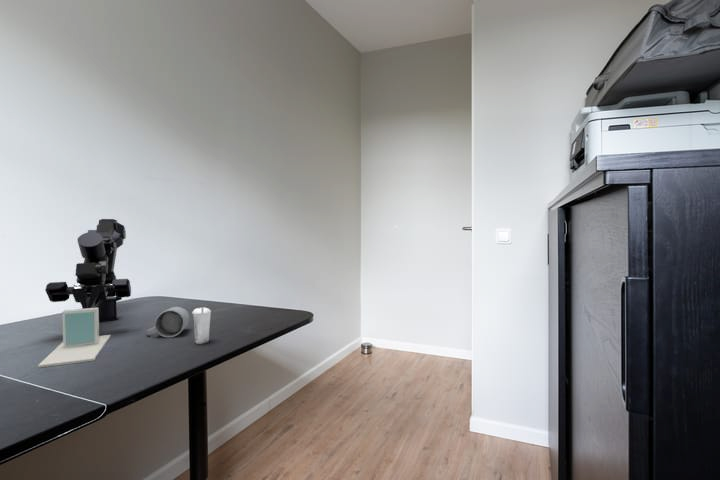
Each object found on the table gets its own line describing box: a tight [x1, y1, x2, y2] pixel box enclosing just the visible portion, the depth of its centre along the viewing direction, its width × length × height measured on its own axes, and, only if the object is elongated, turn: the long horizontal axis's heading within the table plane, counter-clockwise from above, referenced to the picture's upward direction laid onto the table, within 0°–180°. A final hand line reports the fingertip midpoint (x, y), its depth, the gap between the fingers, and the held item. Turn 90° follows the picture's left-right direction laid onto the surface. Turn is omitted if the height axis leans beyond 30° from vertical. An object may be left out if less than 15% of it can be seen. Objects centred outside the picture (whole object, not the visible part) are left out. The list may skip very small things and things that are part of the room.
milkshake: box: [191, 306, 212, 345], centre depth 96 cm, size 4×5×10 cm
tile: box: [61, 308, 100, 348], centre depth 92 cm, size 2×7×9 cm, turn 116°
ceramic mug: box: [146, 306, 190, 339], centre depth 104 cm, size 11×8×8 cm
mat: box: [37, 334, 112, 369], centre depth 90 cm, size 20×10×1 cm, turn 26°
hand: (86, 315), depth 97 cm, fingers closed
